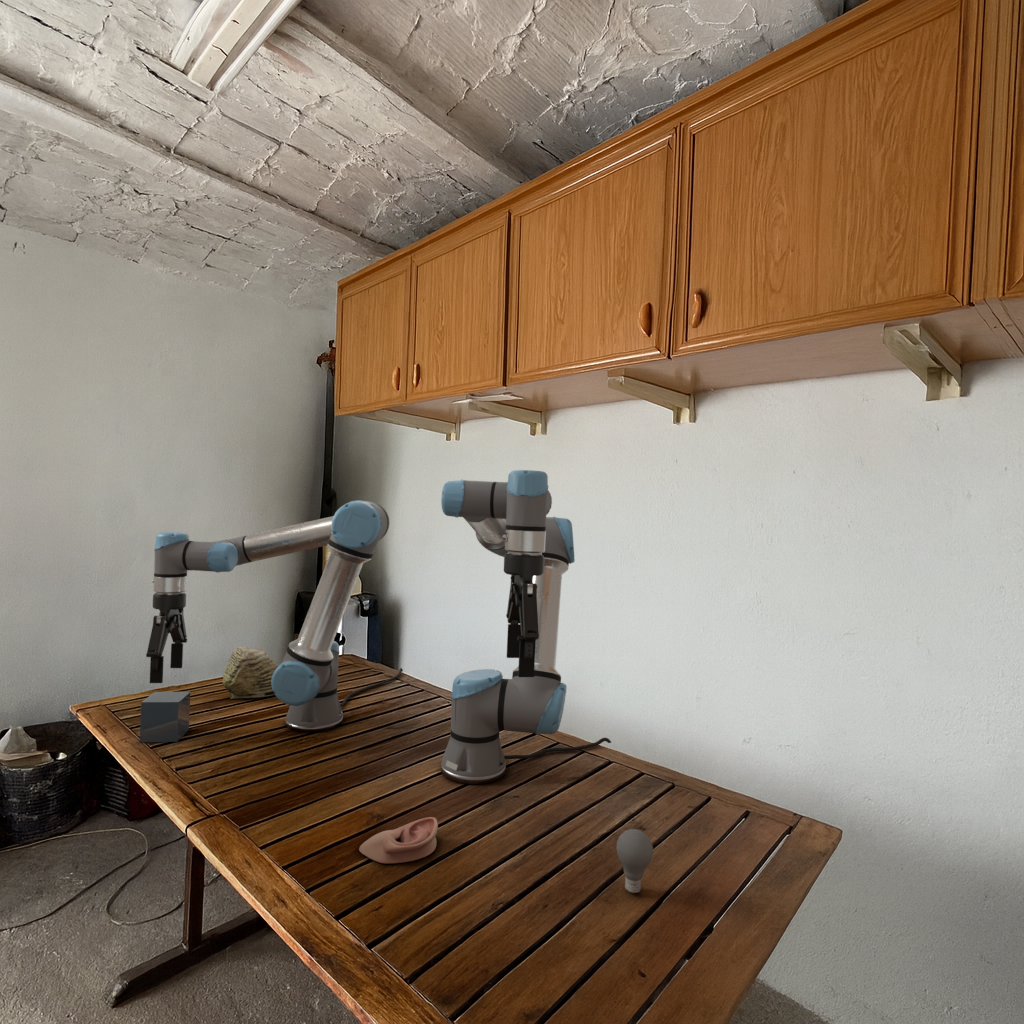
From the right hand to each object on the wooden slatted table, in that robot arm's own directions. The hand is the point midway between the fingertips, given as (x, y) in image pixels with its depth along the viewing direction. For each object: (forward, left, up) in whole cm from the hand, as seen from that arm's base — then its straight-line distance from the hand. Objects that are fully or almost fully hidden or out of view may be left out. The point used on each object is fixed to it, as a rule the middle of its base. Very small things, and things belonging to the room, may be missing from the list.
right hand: (519, 666), depth 118 cm
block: (+58, -81, -33) cm, 105 cm away
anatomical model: (+20, -7, -33) cm, 39 cm away
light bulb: (-12, +21, -33) cm, 41 cm away
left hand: (+58, -81, -18) cm, 101 cm away
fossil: (+34, -108, -33) cm, 118 cm away
